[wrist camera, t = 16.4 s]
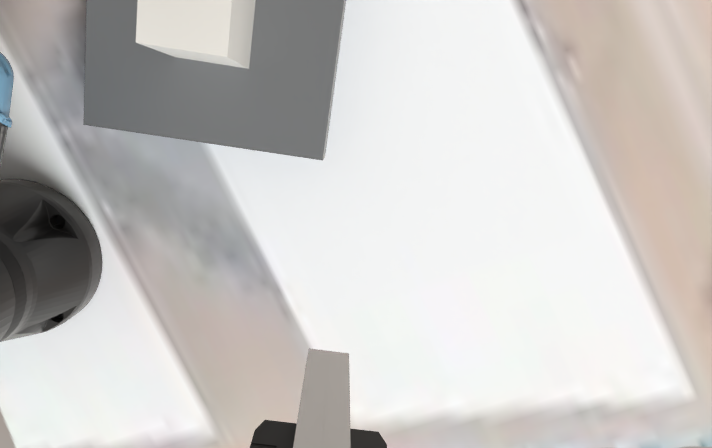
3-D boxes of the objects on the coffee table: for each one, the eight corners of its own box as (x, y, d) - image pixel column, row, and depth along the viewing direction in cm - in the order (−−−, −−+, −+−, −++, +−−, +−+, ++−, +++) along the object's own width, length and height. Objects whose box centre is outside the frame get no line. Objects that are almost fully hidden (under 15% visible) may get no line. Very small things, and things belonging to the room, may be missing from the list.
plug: (187, 61, 41) (135, 42, 31) (195, -45, 39) (142, -104, 29) (256, 72, 41) (227, 57, 31) (266, -33, 39) (239, -87, 29)
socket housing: (112, 124, 43) (83, 124, 39) (121, -116, 39) (90, -149, 34) (325, 155, 45) (322, 160, 40) (356, -74, 40) (357, -101, 35)
